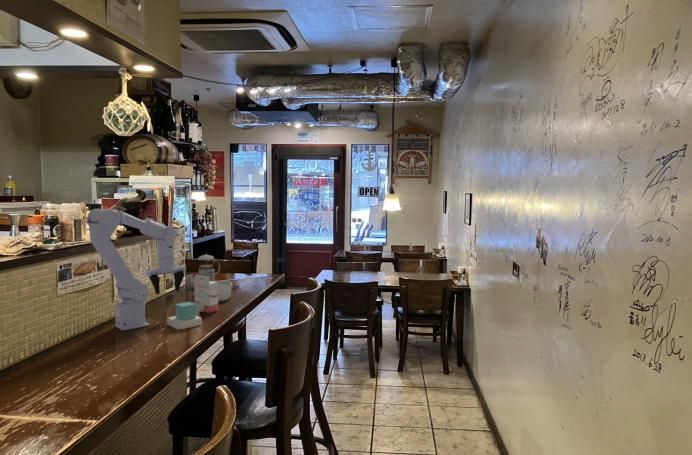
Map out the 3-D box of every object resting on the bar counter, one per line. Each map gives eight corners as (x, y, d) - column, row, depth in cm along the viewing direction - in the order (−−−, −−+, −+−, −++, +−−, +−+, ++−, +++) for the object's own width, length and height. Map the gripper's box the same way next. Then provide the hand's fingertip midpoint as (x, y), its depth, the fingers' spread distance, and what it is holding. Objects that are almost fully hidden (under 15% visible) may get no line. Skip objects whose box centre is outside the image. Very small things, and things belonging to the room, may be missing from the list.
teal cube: (182, 320, 170) (182, 306, 169) (176, 317, 173) (175, 304, 173) (195, 317, 173) (195, 304, 173) (189, 315, 177) (188, 301, 176)
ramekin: (236, 295, 219) (236, 280, 219) (226, 302, 206) (226, 286, 206) (208, 295, 221) (208, 280, 220) (196, 302, 208) (196, 286, 207)
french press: (195, 283, 247) (194, 235, 245) (218, 281, 252) (217, 234, 250) (198, 287, 238) (196, 237, 236) (221, 285, 243) (220, 236, 241)
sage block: (188, 318, 182) (187, 306, 182) (183, 315, 186) (182, 304, 185) (199, 315, 185) (199, 304, 185) (194, 313, 189) (193, 302, 188)
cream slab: (177, 331, 167) (177, 322, 167) (167, 325, 174) (167, 317, 173) (201, 326, 173) (201, 318, 173) (191, 320, 180) (191, 313, 179)
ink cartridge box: (219, 310, 193) (218, 274, 192) (210, 313, 189) (209, 276, 188) (203, 307, 197) (202, 272, 196) (194, 310, 193) (193, 274, 192)
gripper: (151, 260, 175) (152, 297, 176) (189, 256, 184) (190, 291, 186) (144, 258, 180) (145, 293, 181) (181, 254, 190) (182, 288, 191)
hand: (167, 292), depth 184 cm, fingers open, 7 cm apart
